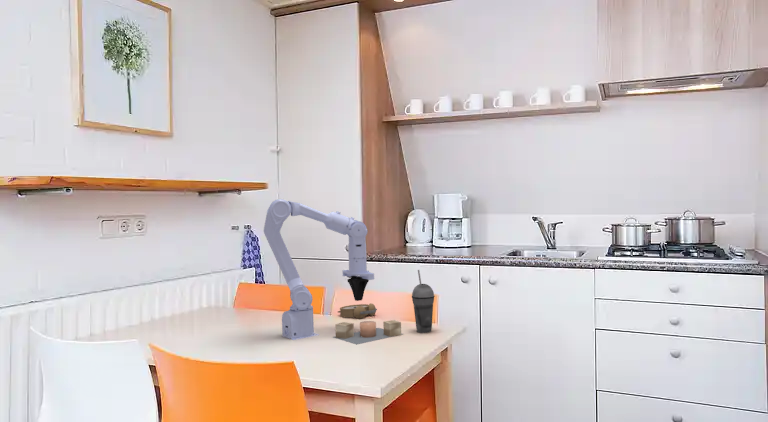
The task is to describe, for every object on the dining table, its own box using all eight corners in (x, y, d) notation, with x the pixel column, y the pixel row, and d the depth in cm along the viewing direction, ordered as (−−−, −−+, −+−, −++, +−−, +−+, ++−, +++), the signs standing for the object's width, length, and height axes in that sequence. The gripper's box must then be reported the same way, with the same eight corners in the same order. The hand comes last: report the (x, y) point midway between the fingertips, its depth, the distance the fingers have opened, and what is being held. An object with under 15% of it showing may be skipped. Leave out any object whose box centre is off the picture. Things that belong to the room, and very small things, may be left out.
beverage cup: (434, 336, 182) (432, 271, 182) (410, 335, 184) (408, 271, 183) (437, 330, 190) (435, 268, 189) (414, 330, 191) (412, 268, 191)
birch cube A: (345, 338, 180) (345, 325, 180) (335, 337, 182) (335, 324, 182) (354, 336, 183) (353, 323, 183) (344, 334, 185) (343, 321, 185)
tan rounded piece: (366, 338, 180) (366, 325, 179) (356, 335, 184) (356, 322, 183) (379, 335, 183) (379, 322, 183) (369, 332, 187) (369, 320, 186)
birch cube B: (389, 336, 181) (389, 323, 180) (383, 334, 184) (383, 321, 184) (401, 335, 182) (400, 322, 182) (394, 332, 186) (394, 319, 186)
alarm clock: (354, 304, 227) (382, 300, 217) (356, 316, 226) (384, 314, 216) (332, 308, 219) (361, 305, 209) (334, 322, 218) (363, 319, 208)
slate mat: (356, 346, 172) (356, 344, 172) (332, 339, 183) (332, 337, 183) (404, 336, 184) (404, 334, 184) (378, 329, 194) (378, 327, 194)
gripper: (381, 258, 187) (382, 301, 188) (354, 255, 199) (355, 296, 199) (363, 260, 183) (364, 304, 183) (336, 257, 194) (337, 298, 194)
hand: (358, 300), depth 191 cm, fingers closed
